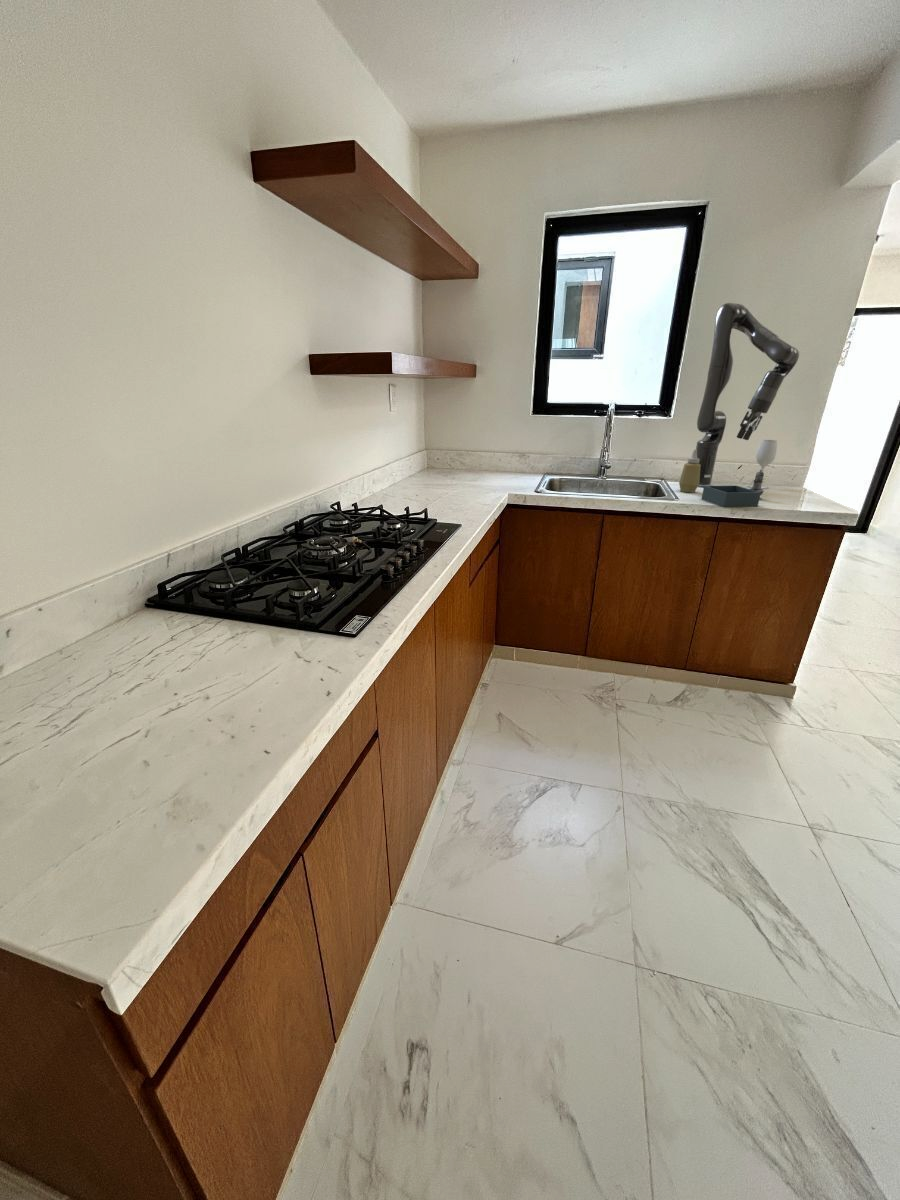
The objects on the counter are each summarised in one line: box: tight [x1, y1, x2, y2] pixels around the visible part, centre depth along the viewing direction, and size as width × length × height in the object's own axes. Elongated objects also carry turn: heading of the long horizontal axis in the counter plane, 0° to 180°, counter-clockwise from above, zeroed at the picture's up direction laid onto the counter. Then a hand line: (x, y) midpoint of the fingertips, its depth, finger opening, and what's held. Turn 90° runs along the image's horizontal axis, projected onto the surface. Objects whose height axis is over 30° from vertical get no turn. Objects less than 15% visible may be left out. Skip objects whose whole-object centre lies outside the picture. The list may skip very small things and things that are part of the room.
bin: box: [701, 485, 762, 508], centre depth 200 cm, size 15×14×6 cm
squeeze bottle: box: [678, 449, 701, 494], centre depth 219 cm, size 8×8×18 cm
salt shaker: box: [750, 469, 765, 501], centre depth 207 cm, size 6×6×12 cm
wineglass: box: [749, 439, 778, 490], centre depth 230 cm, size 8×8×21 cm
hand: (742, 438), depth 210 cm, fingers open, 8 cm apart
